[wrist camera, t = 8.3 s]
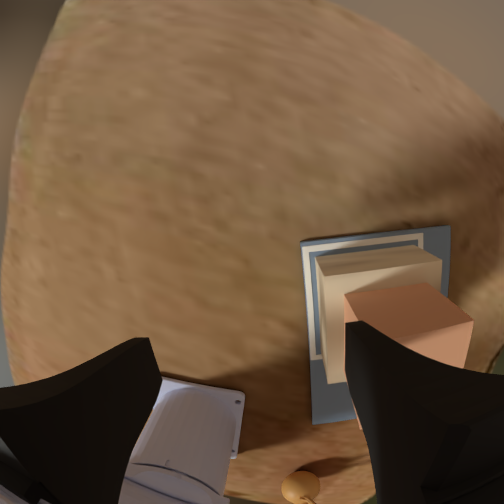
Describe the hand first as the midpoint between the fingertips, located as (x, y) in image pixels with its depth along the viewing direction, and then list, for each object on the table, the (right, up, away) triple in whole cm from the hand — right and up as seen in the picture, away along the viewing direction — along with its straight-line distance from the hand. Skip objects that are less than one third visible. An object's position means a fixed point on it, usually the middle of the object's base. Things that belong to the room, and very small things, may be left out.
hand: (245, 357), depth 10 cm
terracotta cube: (+8, -1, +5) cm, 9 cm away
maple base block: (+8, 0, +9) cm, 12 cm away
